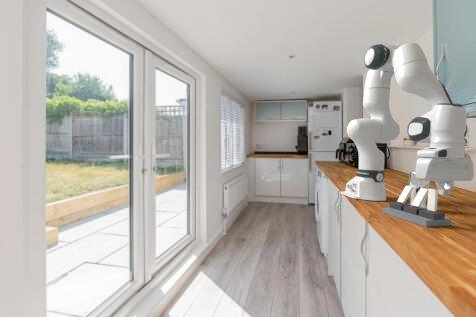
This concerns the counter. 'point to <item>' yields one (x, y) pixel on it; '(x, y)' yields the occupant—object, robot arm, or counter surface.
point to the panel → (417, 215)
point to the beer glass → (417, 188)
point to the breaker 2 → (420, 197)
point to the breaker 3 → (432, 199)
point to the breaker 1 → (405, 194)
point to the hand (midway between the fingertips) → (443, 194)
